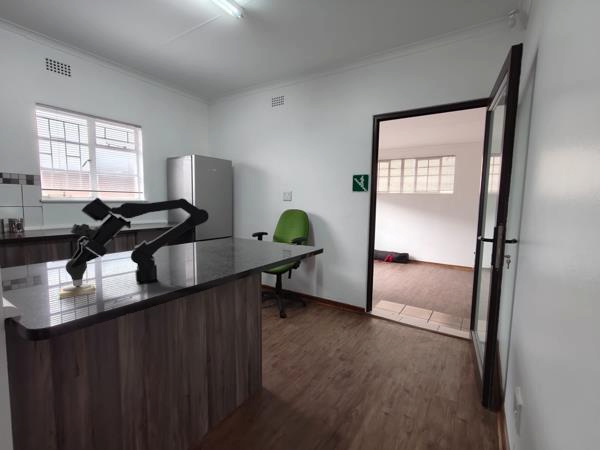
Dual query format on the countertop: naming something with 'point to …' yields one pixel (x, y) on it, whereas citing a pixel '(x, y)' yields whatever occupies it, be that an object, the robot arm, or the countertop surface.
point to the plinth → (77, 290)
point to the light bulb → (76, 272)
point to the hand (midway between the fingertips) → (71, 265)
